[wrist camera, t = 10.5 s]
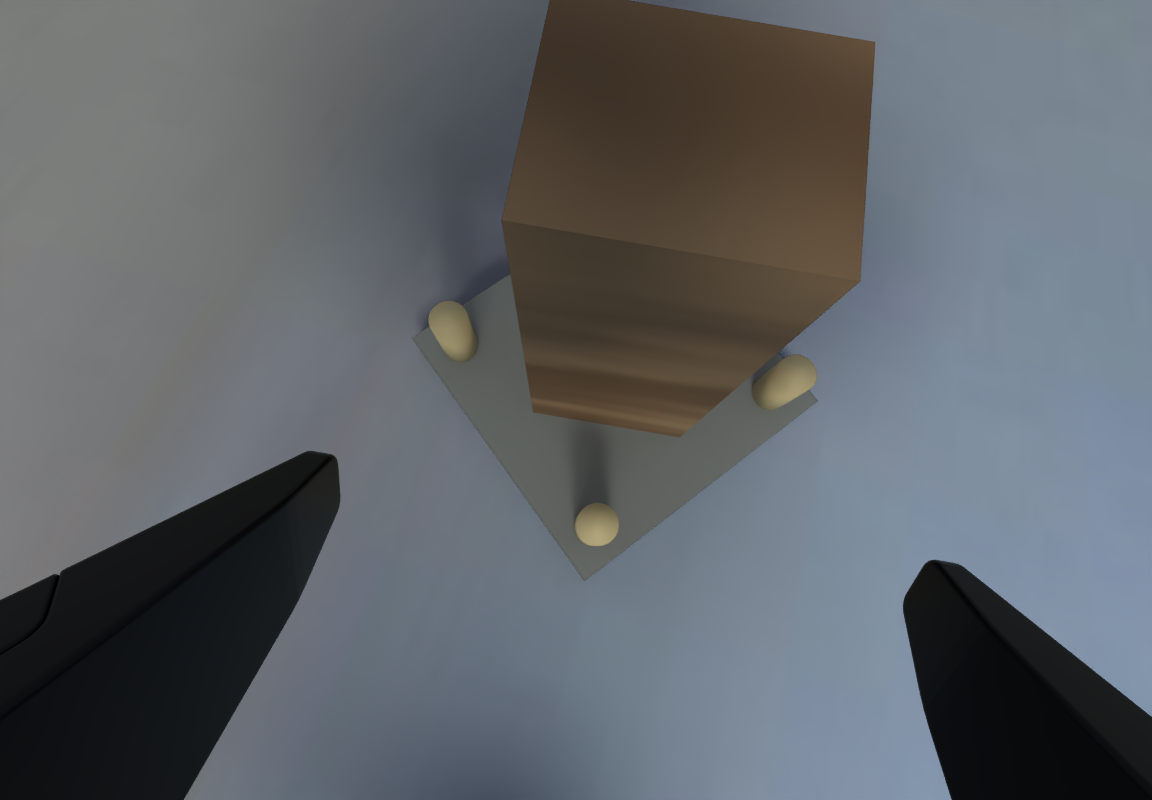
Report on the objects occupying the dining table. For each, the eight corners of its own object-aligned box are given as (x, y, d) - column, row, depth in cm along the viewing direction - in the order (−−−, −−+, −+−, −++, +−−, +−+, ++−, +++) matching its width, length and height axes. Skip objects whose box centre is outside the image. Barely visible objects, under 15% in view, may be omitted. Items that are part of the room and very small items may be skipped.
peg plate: (583, 578, 20) (588, 586, 17) (418, 346, 22) (393, 310, 19) (806, 407, 22) (852, 381, 19) (636, 203, 24) (650, 145, 20)
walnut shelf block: (679, 437, 21) (860, 281, 8) (532, 412, 21) (501, 220, 8) (694, 327, 21) (875, 42, 9) (553, 302, 22) (552, -13, 9)
